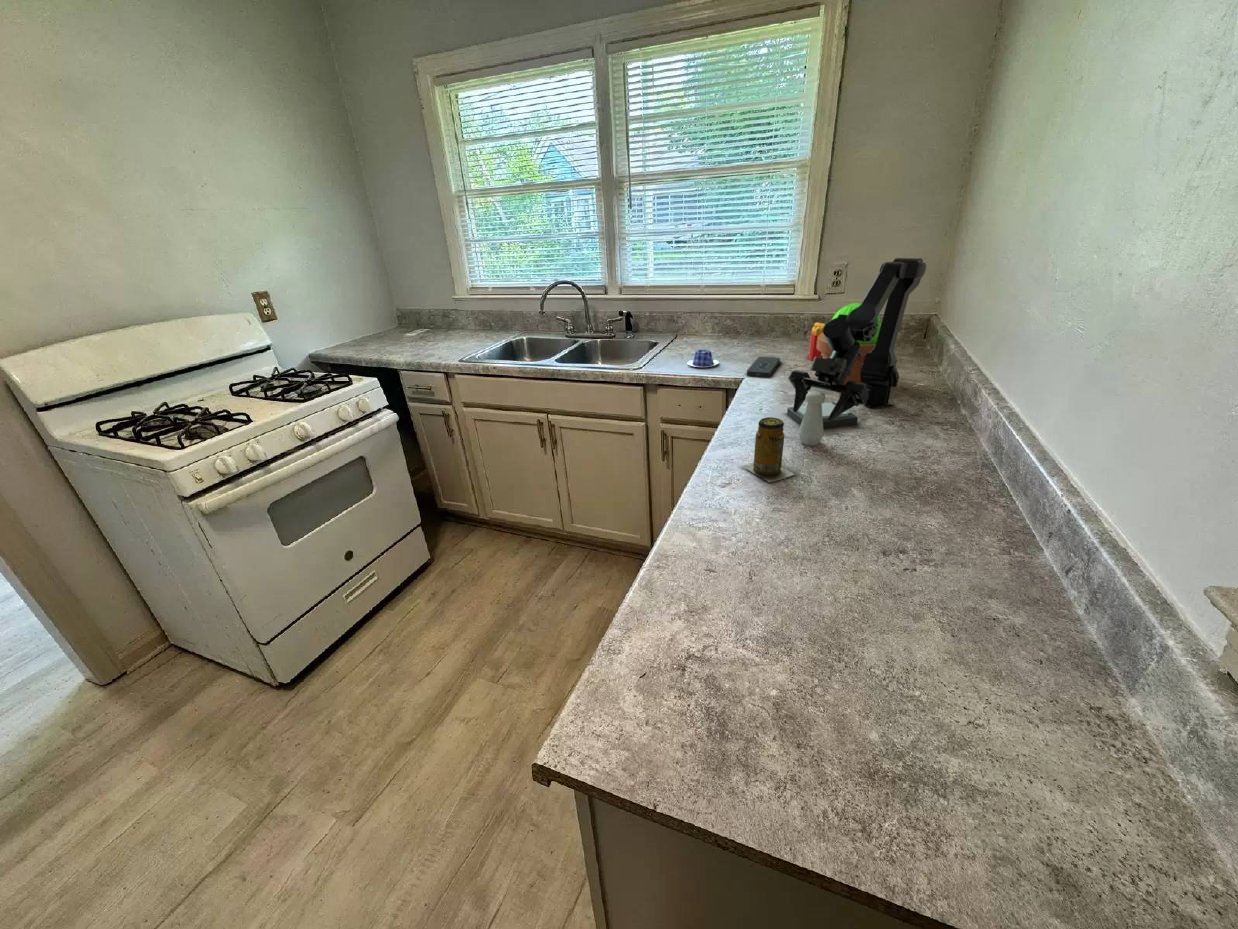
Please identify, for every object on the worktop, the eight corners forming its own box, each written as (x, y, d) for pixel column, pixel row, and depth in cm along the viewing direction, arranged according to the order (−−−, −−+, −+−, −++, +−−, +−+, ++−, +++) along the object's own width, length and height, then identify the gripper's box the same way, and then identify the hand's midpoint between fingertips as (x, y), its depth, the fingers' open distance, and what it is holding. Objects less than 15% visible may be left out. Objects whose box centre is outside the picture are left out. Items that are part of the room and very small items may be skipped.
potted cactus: (811, 386, 161) (820, 306, 149) (814, 367, 178) (823, 295, 167) (886, 390, 153) (902, 307, 141) (882, 370, 171) (896, 294, 159)
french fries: (808, 354, 193) (812, 321, 187) (819, 355, 192) (824, 321, 186) (809, 361, 186) (813, 326, 180) (821, 361, 184) (825, 326, 178)
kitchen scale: (832, 408, 142) (834, 399, 141) (856, 424, 132) (858, 414, 130) (786, 414, 141) (787, 404, 140) (807, 430, 130) (808, 420, 129)
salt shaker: (823, 447, 121) (830, 396, 115) (799, 446, 122) (804, 396, 116) (820, 437, 126) (826, 388, 120) (796, 437, 127) (801, 388, 121)
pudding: (723, 361, 192) (724, 348, 189) (711, 370, 183) (711, 356, 181) (695, 359, 198) (695, 346, 196) (682, 367, 189) (682, 353, 187)
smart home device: (746, 370, 174) (758, 356, 190) (745, 375, 175) (758, 360, 191) (770, 372, 171) (780, 357, 186) (769, 377, 171) (780, 361, 187)
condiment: (768, 460, 116) (773, 413, 111) (795, 475, 109) (800, 425, 104) (744, 468, 113) (747, 420, 108) (769, 483, 107) (773, 432, 101)
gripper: (796, 337, 122) (766, 391, 121) (872, 349, 109) (839, 409, 108) (809, 362, 130) (781, 413, 129) (881, 375, 117) (851, 431, 116)
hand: (811, 416), depth 120 cm, fingers open, 9 cm apart
